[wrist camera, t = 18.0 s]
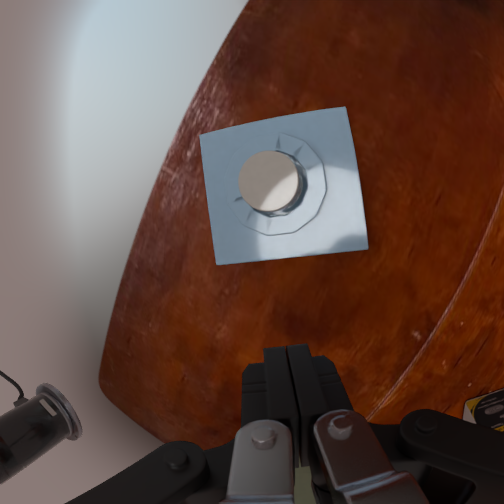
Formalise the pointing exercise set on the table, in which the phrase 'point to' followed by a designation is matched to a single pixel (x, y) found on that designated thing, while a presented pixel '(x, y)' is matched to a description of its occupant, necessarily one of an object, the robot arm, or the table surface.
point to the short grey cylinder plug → (270, 181)
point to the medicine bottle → (486, 410)
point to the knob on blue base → (310, 201)
